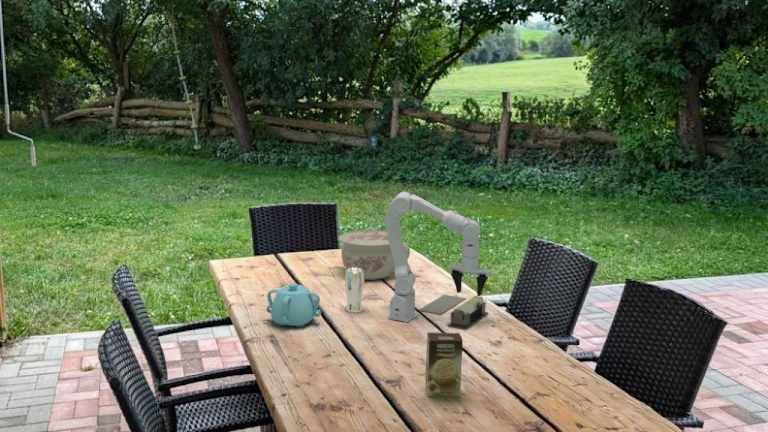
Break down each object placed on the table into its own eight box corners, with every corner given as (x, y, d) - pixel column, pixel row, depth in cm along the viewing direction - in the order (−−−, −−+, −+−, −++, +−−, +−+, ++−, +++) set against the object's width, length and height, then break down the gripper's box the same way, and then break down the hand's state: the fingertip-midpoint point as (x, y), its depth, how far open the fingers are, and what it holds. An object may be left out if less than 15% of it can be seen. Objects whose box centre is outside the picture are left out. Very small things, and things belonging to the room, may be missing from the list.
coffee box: (426, 397, 203) (428, 340, 200) (424, 387, 210) (426, 332, 206) (461, 397, 204) (462, 340, 200) (458, 387, 210) (459, 332, 207)
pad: (441, 315, 271) (441, 314, 271) (418, 310, 275) (418, 309, 275) (465, 299, 290) (465, 298, 289) (444, 295, 294) (444, 294, 294)
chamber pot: (328, 271, 327) (328, 224, 323) (385, 265, 338) (386, 219, 334) (353, 288, 302) (353, 237, 298) (414, 281, 313) (415, 232, 309)
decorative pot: (324, 326, 258) (324, 287, 256) (279, 332, 251) (278, 293, 249) (307, 312, 273) (307, 275, 270) (264, 318, 266) (263, 280, 263)
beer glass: (365, 307, 279) (365, 267, 276) (362, 313, 272) (362, 272, 269) (346, 306, 279) (346, 267, 276) (343, 312, 272) (343, 272, 270)
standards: (465, 330, 255) (466, 317, 255) (447, 326, 259) (447, 313, 258) (488, 313, 272) (488, 301, 272) (470, 310, 276) (470, 298, 275)
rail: (462, 319, 257) (462, 311, 256) (453, 318, 258) (453, 309, 258) (482, 305, 272) (482, 297, 271) (474, 304, 273) (474, 296, 273)
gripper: (494, 256, 261) (492, 293, 264) (455, 250, 268) (454, 287, 271) (486, 260, 255) (485, 299, 258) (447, 254, 262) (446, 292, 265)
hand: (469, 293), depth 264 cm, fingers open, 7 cm apart
